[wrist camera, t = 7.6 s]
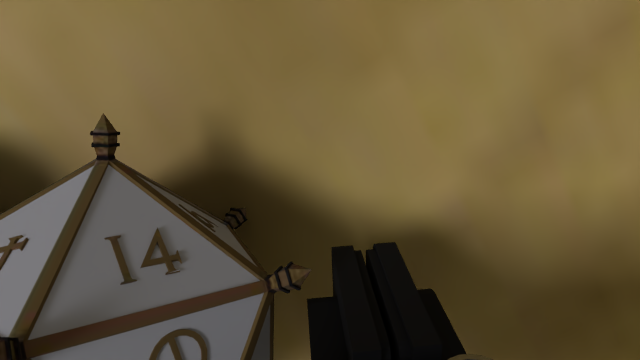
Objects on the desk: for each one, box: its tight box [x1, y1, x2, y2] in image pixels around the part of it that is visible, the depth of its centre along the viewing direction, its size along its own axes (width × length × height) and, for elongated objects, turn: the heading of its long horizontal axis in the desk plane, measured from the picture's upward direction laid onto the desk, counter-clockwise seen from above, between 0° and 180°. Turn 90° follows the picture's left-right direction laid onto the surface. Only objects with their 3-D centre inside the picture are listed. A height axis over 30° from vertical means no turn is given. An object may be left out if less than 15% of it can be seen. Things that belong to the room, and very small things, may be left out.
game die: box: [0, 113, 312, 360], centre depth 10 cm, size 9×8×10 cm
